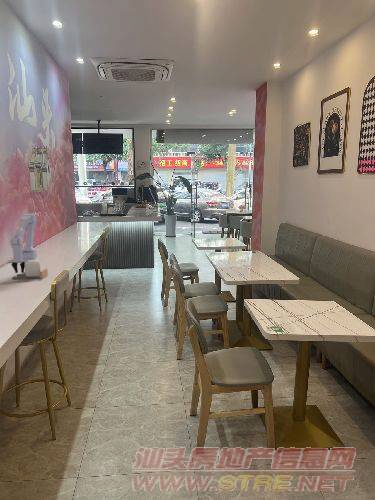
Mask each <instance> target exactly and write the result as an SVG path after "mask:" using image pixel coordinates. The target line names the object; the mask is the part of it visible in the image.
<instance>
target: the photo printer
mask: <svg viewBox="0 0 375 500" xmlns="http://www.w3.org/2000/svg"><path fill="white" fill-rule="evenodd" d="M41 271H42V270H41V263H40V260H38V259H35V260H29V261H26V262H25V268H24V272H25V273H24V274H26V276H40V272H41ZM26 276H25V277H26Z"/></svg>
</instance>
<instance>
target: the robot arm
mask: <svg viewBox="0 0 375 500" xmlns="http://www.w3.org/2000/svg"><path fill="white" fill-rule="evenodd" d="M37 218H38V217H37V215H36V214H35V213H21V215H20V225H19V228H17V229H16V231H15V233H14V235H13V237H11V238H10V241H9V243H10V245H11V248H12V253H13V259H9V260H7V264H10V265H11V267H12V268H13V270H14V272H15V273H14V274H19V270H18V264H19V265H20V272H21V274H25V262H26V261H29V260H37V257H38V256H37V250H36V249H35V248H34V238H35V237H34V236H35V227H36V226H37V220H38V219H37ZM25 229H26V232H25ZM25 233H26V237H25V239H26V240H25V247H24V248H22V245H23V243H24V241H23V240H24V236H25Z"/></svg>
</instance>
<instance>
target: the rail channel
mask: <svg viewBox="0 0 375 500" xmlns="http://www.w3.org/2000/svg"><path fill="white" fill-rule="evenodd" d="M40 271H41V272H40V276H26V274H25V273H16V276H12V280H30V279H32V280H34V279H35V280H36V279H37V280H42V279H44V278H46V277H47V276H48V268H43V269H42V270H40Z"/></svg>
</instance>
